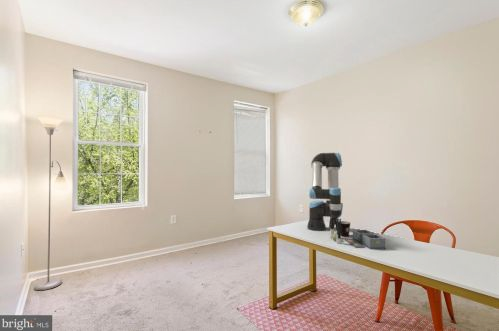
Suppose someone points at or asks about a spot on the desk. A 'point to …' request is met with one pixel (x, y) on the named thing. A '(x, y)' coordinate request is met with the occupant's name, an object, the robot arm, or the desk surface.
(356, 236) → the grey square bin
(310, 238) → the desk surface
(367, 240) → the grey open box
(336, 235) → the olive ball
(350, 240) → the card
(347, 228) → the coffee mug
